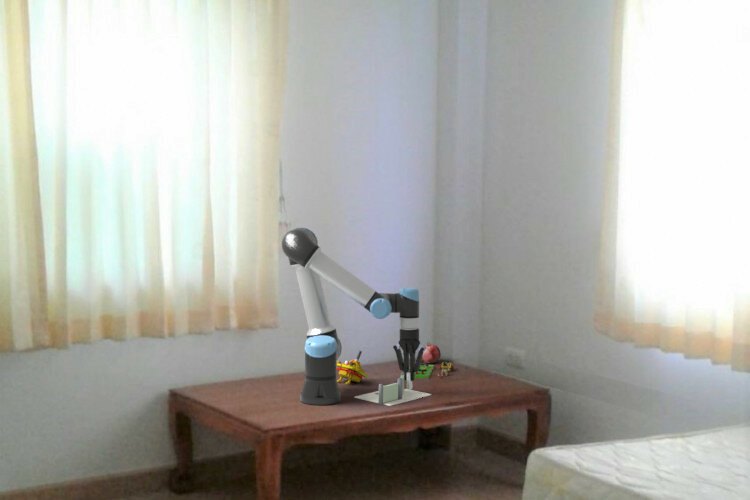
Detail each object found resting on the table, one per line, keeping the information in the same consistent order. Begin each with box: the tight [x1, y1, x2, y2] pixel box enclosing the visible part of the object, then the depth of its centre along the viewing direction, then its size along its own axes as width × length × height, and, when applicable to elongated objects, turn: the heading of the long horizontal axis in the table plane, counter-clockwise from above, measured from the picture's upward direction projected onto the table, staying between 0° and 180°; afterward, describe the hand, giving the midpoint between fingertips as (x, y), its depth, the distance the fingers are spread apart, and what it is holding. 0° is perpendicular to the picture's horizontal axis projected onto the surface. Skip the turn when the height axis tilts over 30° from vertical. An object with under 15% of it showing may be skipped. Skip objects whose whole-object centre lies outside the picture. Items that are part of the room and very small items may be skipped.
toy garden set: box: [409, 360, 455, 379], centre depth 391 cm, size 23×19×5 cm
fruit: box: [422, 341, 442, 364], centre depth 412 cm, size 9×10×10 cm
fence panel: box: [399, 371, 406, 394], centre depth 349 cm, size 12×2×7 cm, turn 173°
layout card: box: [354, 388, 432, 407], centre depth 347 cm, size 24×18×1 cm
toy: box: [336, 350, 370, 386], centre depth 370 cm, size 14×10×15 cm
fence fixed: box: [378, 377, 403, 406], centre depth 338 cm, size 12×2×8 cm, turn 138°
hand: (409, 388), depth 350 cm, fingers closed
